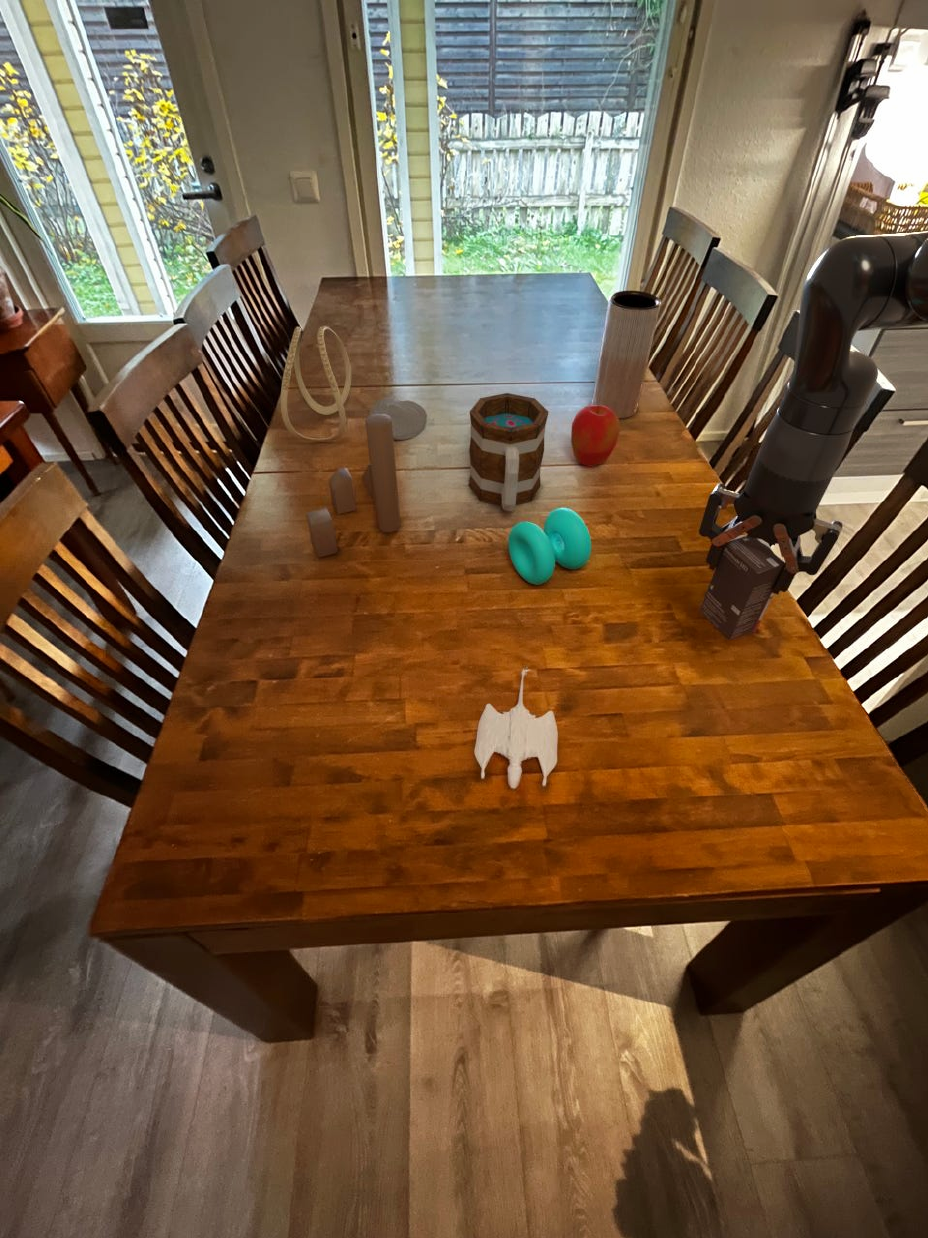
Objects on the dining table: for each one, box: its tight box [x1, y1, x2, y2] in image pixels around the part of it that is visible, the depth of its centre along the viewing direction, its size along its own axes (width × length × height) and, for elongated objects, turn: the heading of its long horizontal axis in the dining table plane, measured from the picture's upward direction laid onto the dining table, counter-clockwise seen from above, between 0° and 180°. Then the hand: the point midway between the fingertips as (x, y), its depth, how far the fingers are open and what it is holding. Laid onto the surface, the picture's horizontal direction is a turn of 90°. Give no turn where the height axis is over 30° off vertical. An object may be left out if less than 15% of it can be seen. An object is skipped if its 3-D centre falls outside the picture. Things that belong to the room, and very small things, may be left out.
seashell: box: [369, 396, 428, 441], centre depth 130 cm, size 12×6×10 cm
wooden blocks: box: [305, 414, 401, 558], centre depth 104 cm, size 17×20×20 cm
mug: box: [468, 392, 549, 512], centre depth 110 cm, size 20×14×15 cm
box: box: [699, 536, 786, 641], centre depth 77 cm, size 6×4×12 cm
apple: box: [570, 404, 621, 467], centre depth 119 cm, size 9×9×12 cm
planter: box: [591, 290, 662, 419], centre depth 130 cm, size 10×10×23 cm
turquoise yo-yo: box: [507, 507, 592, 585], centre depth 97 cm, size 10×10×10 cm
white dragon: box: [473, 665, 559, 789], centre depth 78 cm, size 18×10×4 cm, turn 172°
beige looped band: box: [280, 325, 352, 443], centre depth 125 cm, size 22×12×20 cm, turn 4°
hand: (744, 577), depth 76 cm, fingers closed on box, 7 cm apart
